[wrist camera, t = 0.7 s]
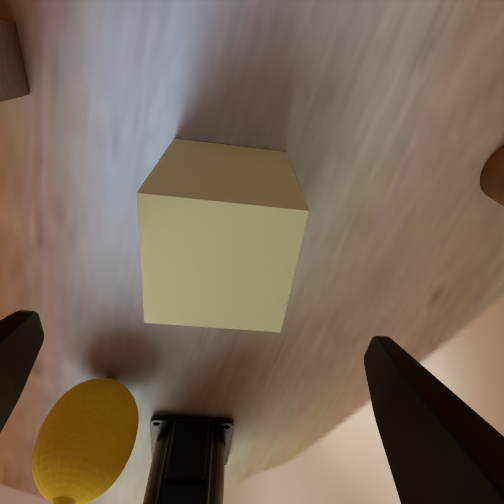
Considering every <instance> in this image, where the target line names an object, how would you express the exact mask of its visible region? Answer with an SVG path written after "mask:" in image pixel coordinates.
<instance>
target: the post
mask: <svg viewBox="0 0 504 504" xmlns="http://www.w3.org/2000/svg"><path fill="white" fill-rule="evenodd" d="M26 95H29V90H28V85H27V80H26V75H25V70H24V65H23V60H22V55H21V50H20V45H19V40H18V35H17V30H16V25H15V21H9V20H2V19H0V102H2V101H6V100H10V99H14V98H18V97H22V96H26Z"/></svg>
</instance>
